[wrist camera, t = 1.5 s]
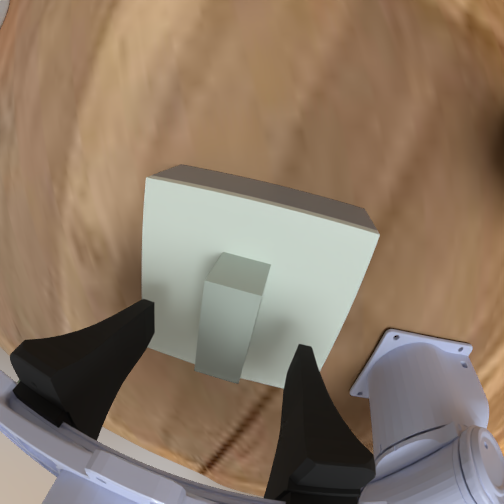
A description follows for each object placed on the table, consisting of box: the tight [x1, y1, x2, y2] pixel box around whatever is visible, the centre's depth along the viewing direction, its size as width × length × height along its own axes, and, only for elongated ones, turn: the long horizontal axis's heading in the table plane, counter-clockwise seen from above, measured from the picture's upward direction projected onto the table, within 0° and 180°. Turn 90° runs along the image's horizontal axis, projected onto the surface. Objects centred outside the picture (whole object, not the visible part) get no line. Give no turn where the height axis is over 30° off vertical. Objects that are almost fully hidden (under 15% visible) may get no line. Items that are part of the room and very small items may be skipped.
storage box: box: [152, 165, 377, 230], centre depth 19 cm, size 12×12×4 cm
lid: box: [142, 175, 380, 389], centre depth 16 cm, size 12×12×4 cm
